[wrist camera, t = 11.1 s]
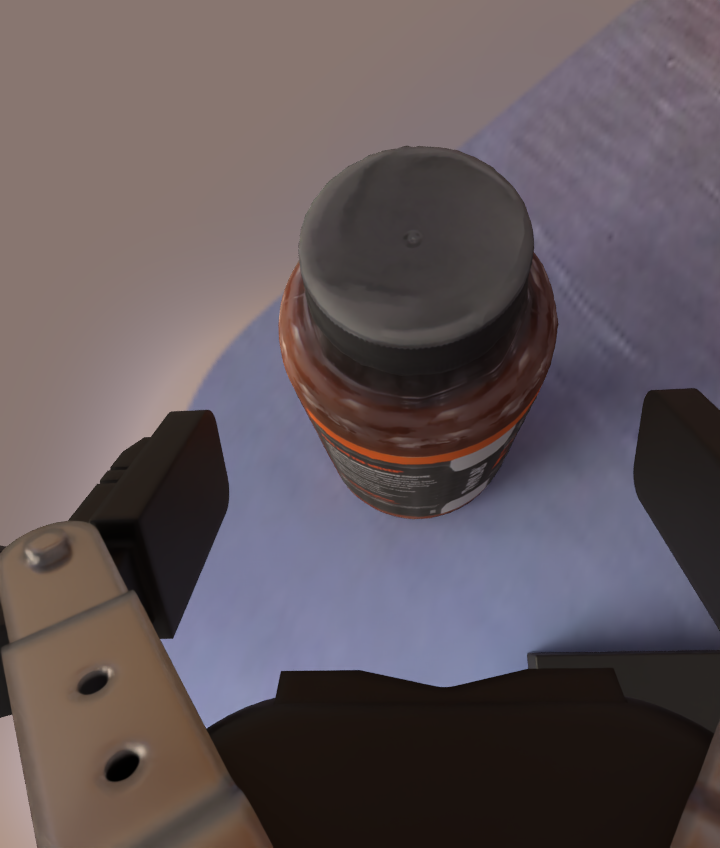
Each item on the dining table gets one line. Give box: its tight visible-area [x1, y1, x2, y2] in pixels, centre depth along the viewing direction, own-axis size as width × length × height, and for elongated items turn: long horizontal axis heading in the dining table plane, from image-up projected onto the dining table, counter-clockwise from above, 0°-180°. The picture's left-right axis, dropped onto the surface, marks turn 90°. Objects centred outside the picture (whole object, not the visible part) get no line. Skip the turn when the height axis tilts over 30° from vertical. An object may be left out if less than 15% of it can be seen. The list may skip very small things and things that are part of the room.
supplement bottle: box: [279, 146, 558, 519], centre depth 16 cm, size 6×6×11 cm
